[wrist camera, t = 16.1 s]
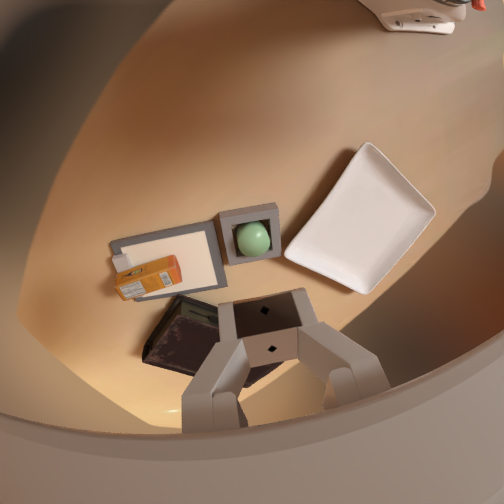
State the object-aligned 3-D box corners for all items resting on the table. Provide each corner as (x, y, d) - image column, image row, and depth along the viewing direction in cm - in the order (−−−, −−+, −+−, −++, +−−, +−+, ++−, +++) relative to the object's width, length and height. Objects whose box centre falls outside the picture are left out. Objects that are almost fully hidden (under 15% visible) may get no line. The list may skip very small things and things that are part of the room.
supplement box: (181, 270, 42) (123, 288, 41) (175, 253, 40) (114, 271, 39) (183, 284, 40) (122, 302, 38) (176, 266, 38) (112, 285, 36)
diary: (242, 372, 63) (245, 390, 59) (143, 345, 52) (140, 365, 48) (294, 330, 56) (300, 349, 52) (181, 288, 44) (180, 311, 40)
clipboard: (213, 219, 39) (213, 226, 38) (227, 283, 46) (228, 291, 45) (110, 241, 38) (106, 248, 37) (136, 299, 45) (134, 307, 44)
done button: (264, 217, 40) (268, 227, 38) (267, 242, 42) (271, 253, 40) (233, 222, 40) (236, 233, 37) (238, 248, 42) (240, 259, 40)
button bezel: (275, 202, 39) (278, 208, 38) (278, 248, 44) (281, 255, 42) (219, 212, 39) (219, 218, 37) (228, 258, 44) (229, 265, 42)
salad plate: (275, 245, 44) (280, 258, 41) (356, 133, 35) (368, 139, 33) (359, 286, 53) (367, 297, 50) (427, 203, 44) (438, 211, 41)
